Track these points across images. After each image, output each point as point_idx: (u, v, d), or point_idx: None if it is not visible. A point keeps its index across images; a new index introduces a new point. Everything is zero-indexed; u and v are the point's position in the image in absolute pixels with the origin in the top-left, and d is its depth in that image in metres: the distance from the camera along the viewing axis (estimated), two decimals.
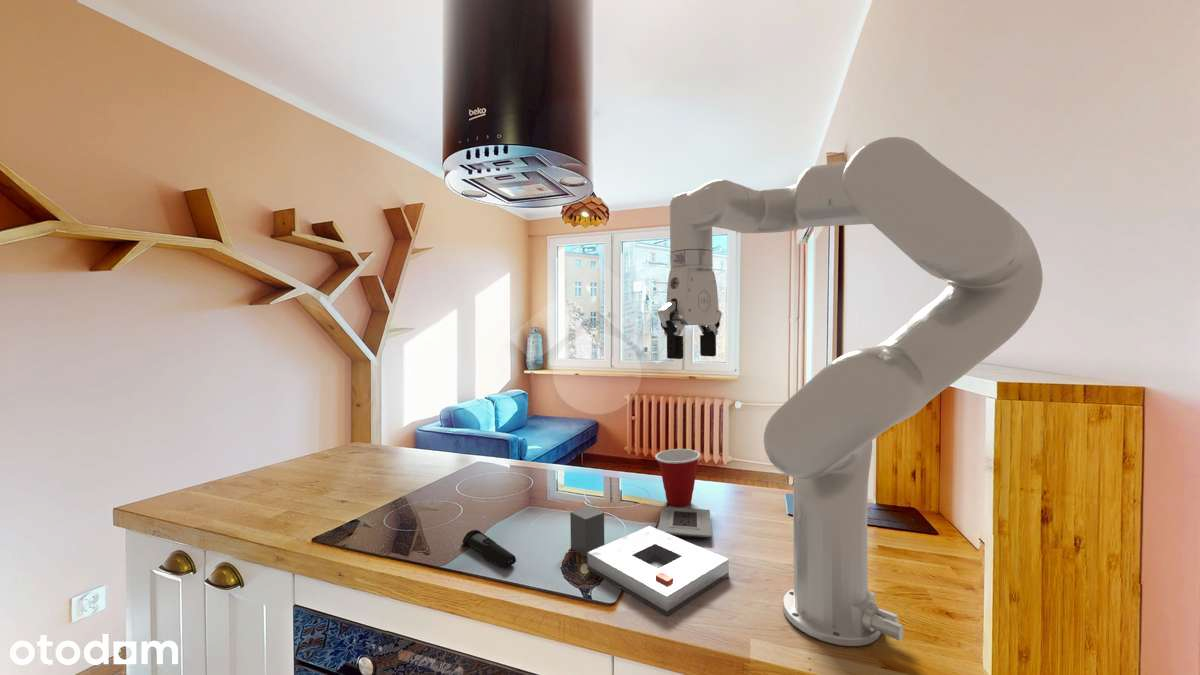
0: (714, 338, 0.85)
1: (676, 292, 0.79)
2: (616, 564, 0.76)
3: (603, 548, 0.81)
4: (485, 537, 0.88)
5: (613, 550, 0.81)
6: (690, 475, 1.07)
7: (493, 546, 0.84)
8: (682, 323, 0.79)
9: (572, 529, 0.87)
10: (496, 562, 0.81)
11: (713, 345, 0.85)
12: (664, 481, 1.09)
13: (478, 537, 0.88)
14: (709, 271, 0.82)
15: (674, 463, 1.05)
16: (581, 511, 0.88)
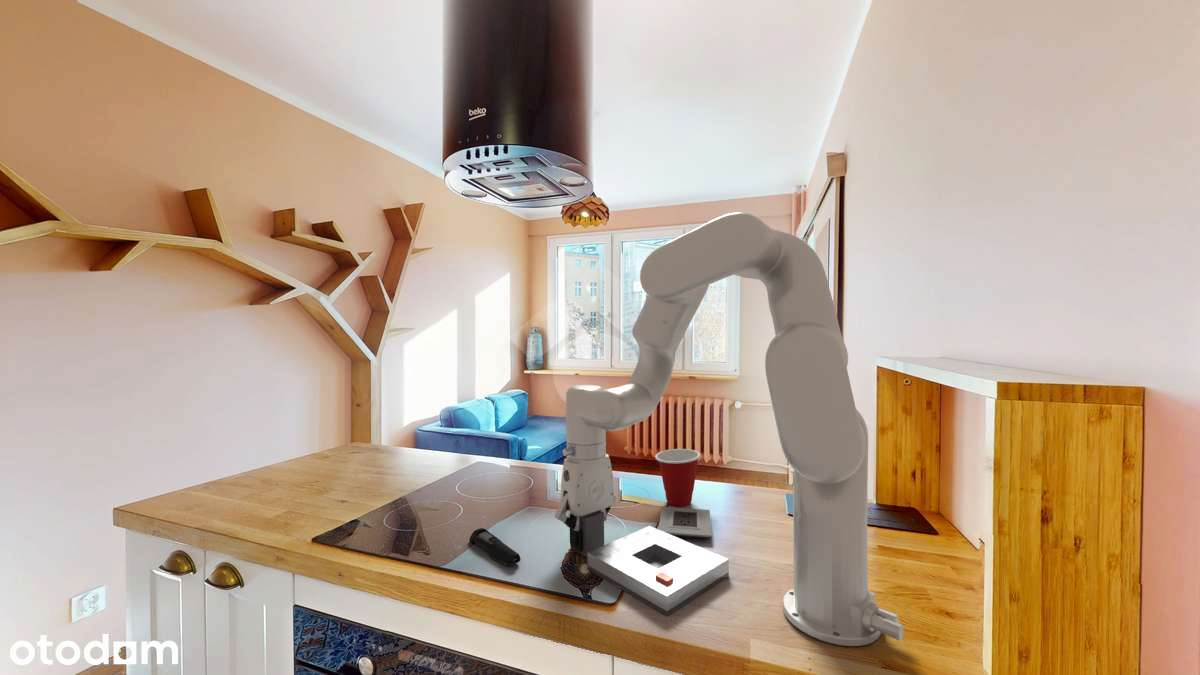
0: None
1: (567, 485, 0.84)
2: (616, 564, 0.76)
3: (603, 548, 0.81)
4: (491, 535, 0.89)
5: (613, 550, 0.81)
6: (690, 475, 1.07)
7: (498, 545, 0.84)
8: (579, 517, 0.85)
9: None
10: (501, 560, 0.82)
11: None
12: (664, 481, 1.09)
13: (484, 535, 0.89)
14: None
15: (674, 463, 1.05)
16: None
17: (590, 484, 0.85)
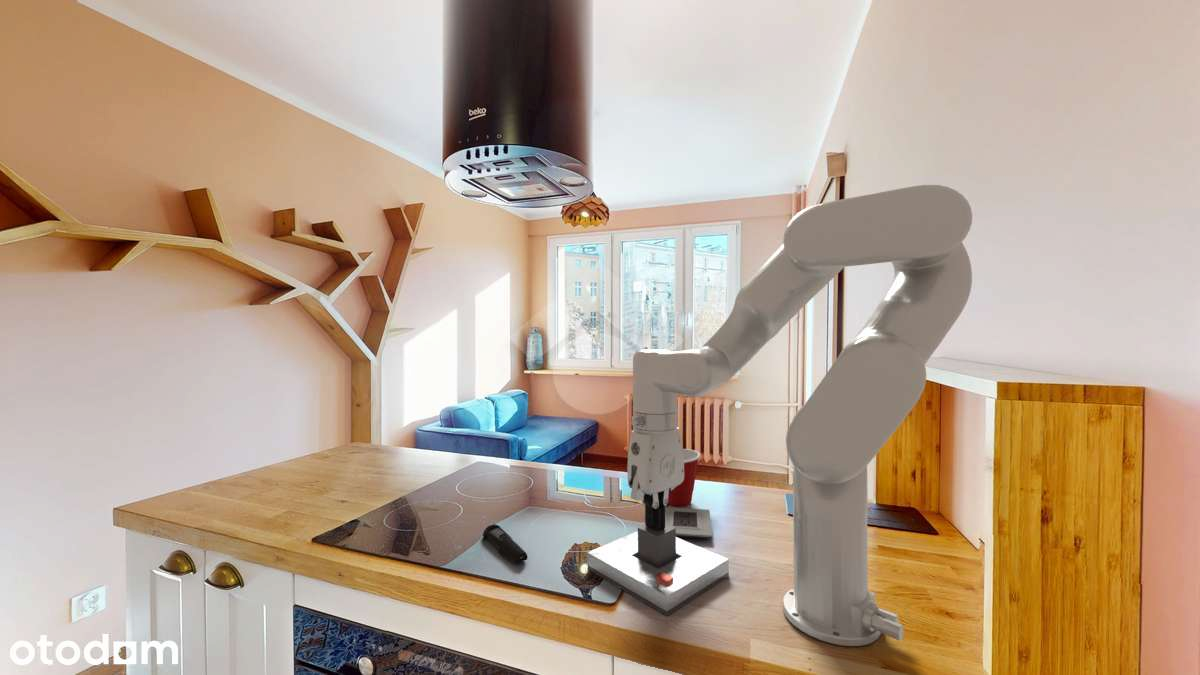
0: (663, 510, 0.77)
1: (637, 459, 0.75)
2: (616, 564, 0.76)
3: (603, 548, 0.81)
4: (503, 532, 0.90)
5: (613, 550, 0.81)
6: (690, 475, 1.07)
7: (507, 542, 0.85)
8: (654, 494, 0.76)
9: (640, 547, 0.78)
10: (509, 557, 0.83)
11: (662, 517, 0.77)
12: None
13: (496, 532, 0.90)
14: None
15: None
16: None
17: (662, 458, 0.75)
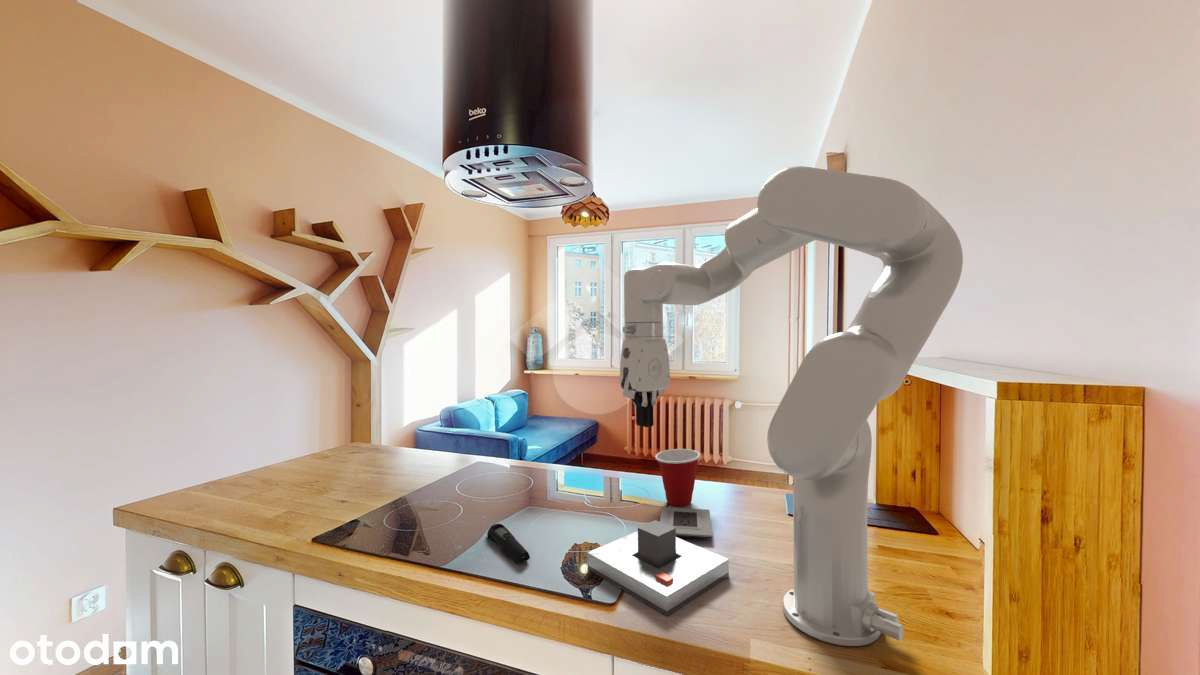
0: (651, 409, 0.88)
1: (628, 362, 0.86)
2: (616, 564, 0.76)
3: (603, 548, 0.81)
4: (506, 531, 0.91)
5: (613, 550, 0.81)
6: (690, 475, 1.07)
7: (510, 541, 0.86)
8: (643, 394, 0.87)
9: (640, 547, 0.78)
10: (511, 557, 0.83)
11: (650, 416, 0.89)
12: (664, 481, 1.09)
13: (500, 531, 0.91)
14: (660, 340, 0.89)
15: (674, 463, 1.05)
16: (650, 527, 0.79)
17: (649, 361, 0.86)
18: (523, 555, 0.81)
